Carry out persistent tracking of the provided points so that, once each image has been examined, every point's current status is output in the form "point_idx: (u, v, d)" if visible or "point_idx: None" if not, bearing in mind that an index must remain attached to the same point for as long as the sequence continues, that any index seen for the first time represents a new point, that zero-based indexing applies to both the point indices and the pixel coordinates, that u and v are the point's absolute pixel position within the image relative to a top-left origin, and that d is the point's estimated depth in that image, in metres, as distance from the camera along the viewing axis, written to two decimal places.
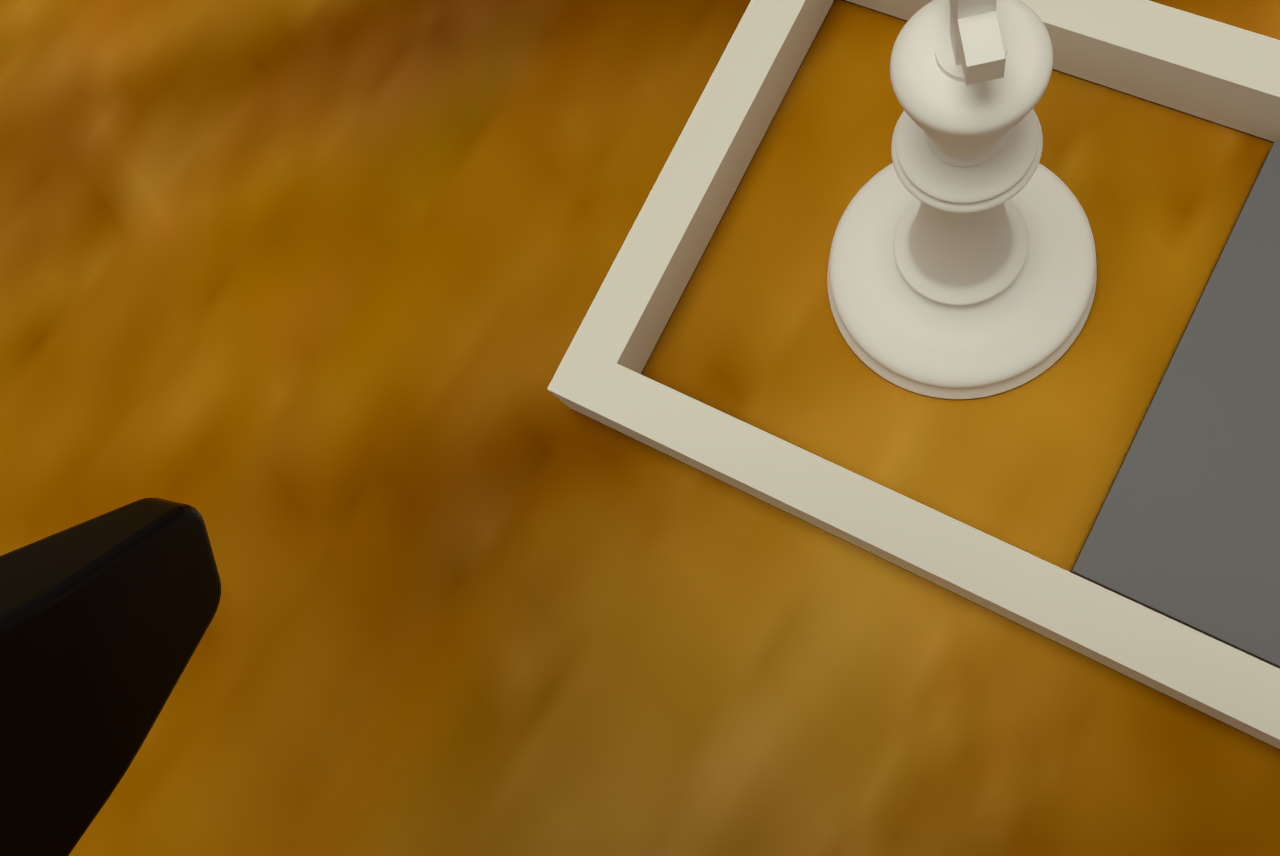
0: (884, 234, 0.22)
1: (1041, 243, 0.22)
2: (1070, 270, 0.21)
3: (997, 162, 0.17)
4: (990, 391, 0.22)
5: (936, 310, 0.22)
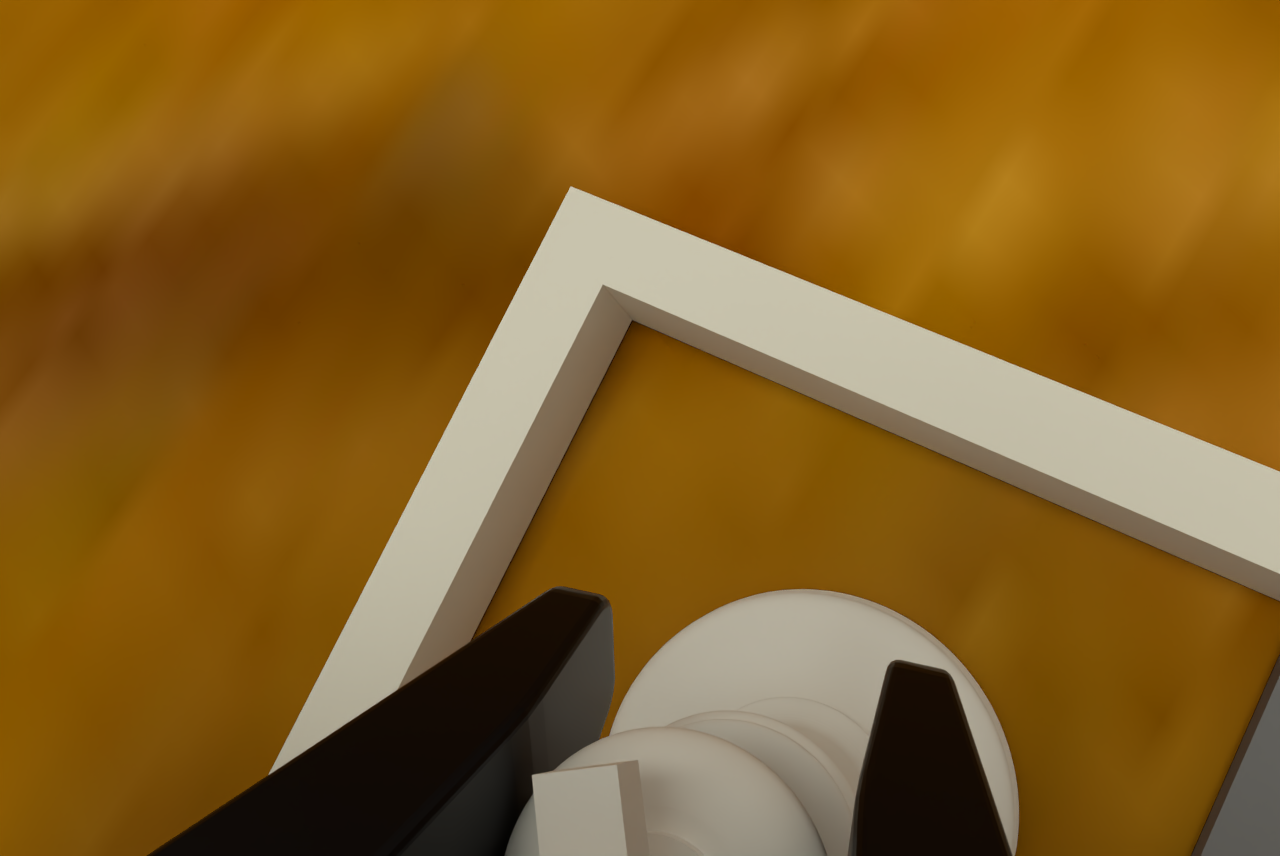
0: None
1: None
2: None
3: None
4: None
5: None
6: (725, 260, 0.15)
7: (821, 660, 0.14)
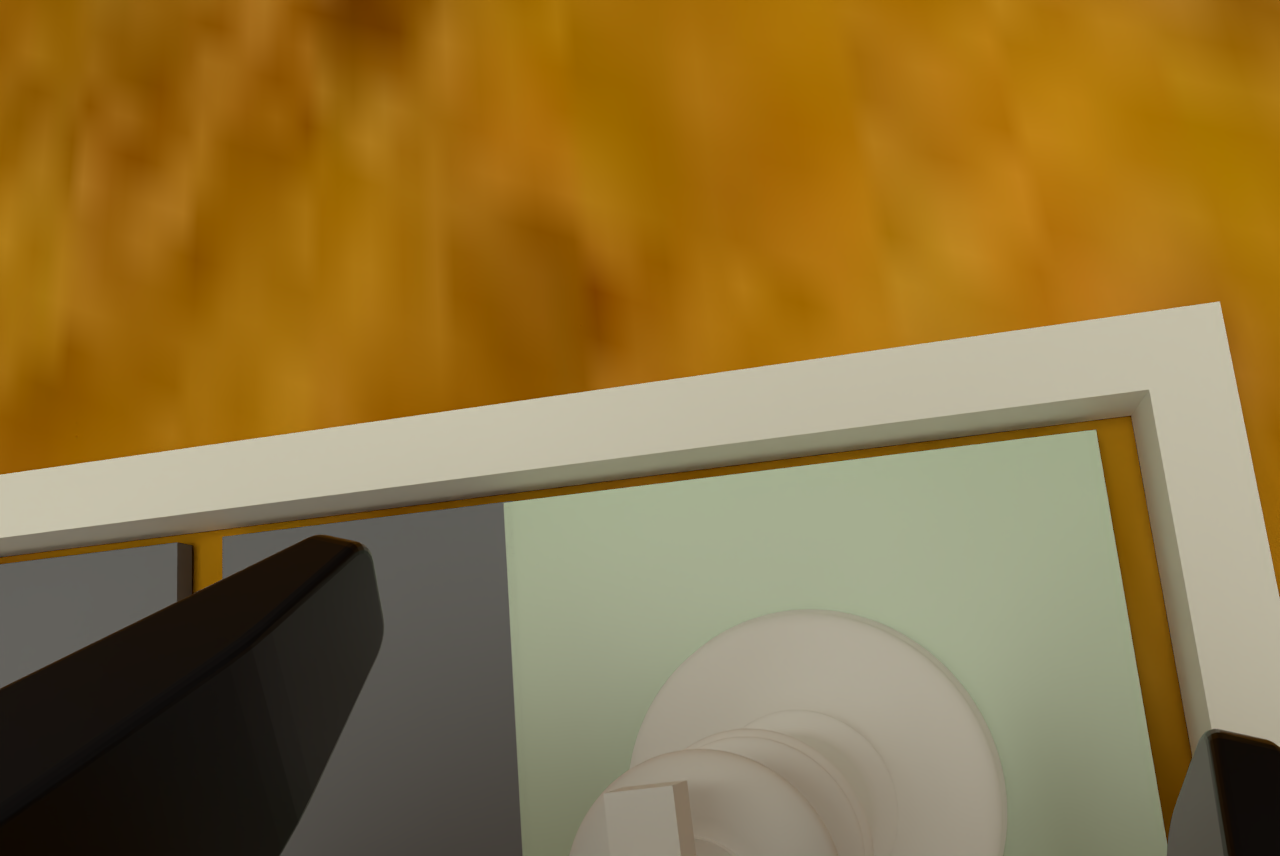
0: None
1: (921, 802, 0.15)
2: (963, 842, 0.15)
3: None
4: None
5: None
6: None
7: (829, 675, 0.15)
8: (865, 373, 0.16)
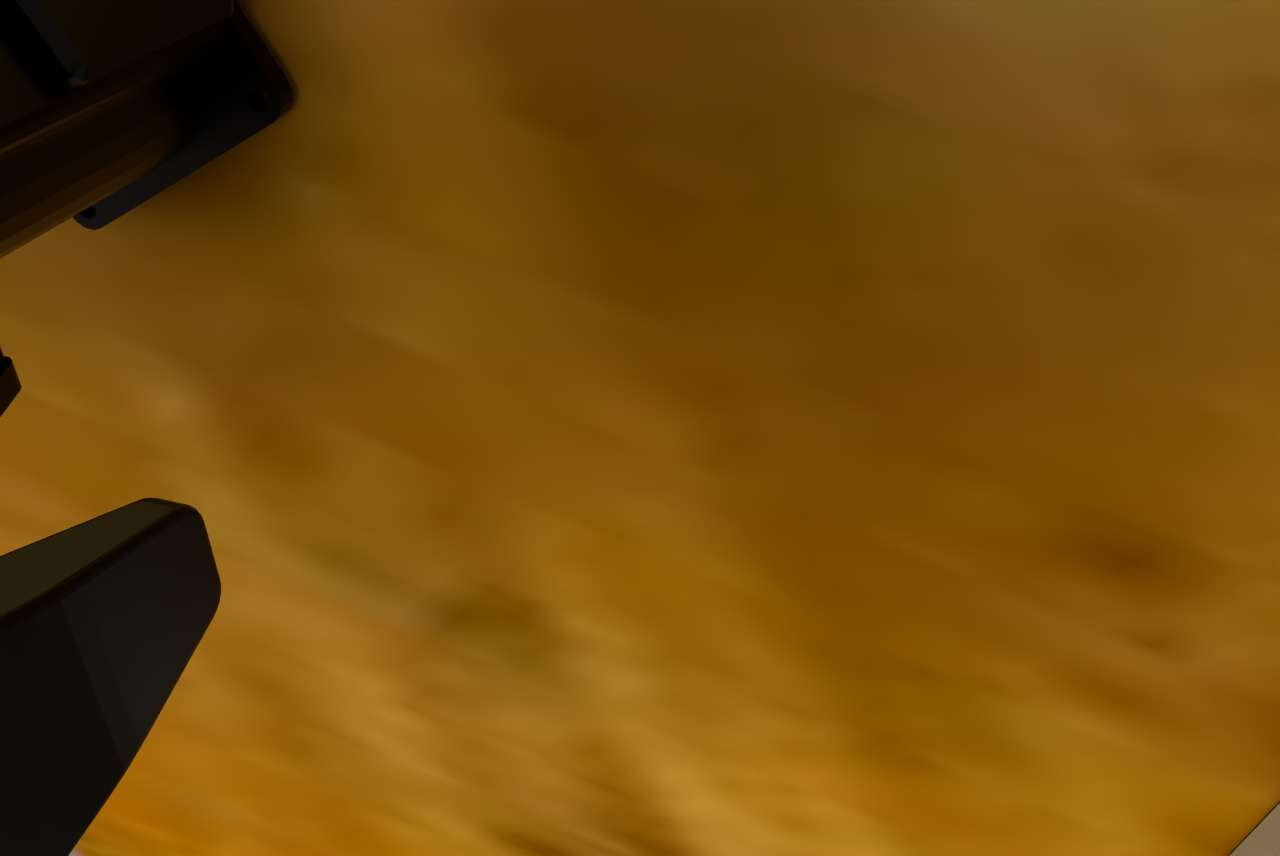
0: None
1: None
2: None
3: None
4: None
5: None
6: None
7: None
8: None
